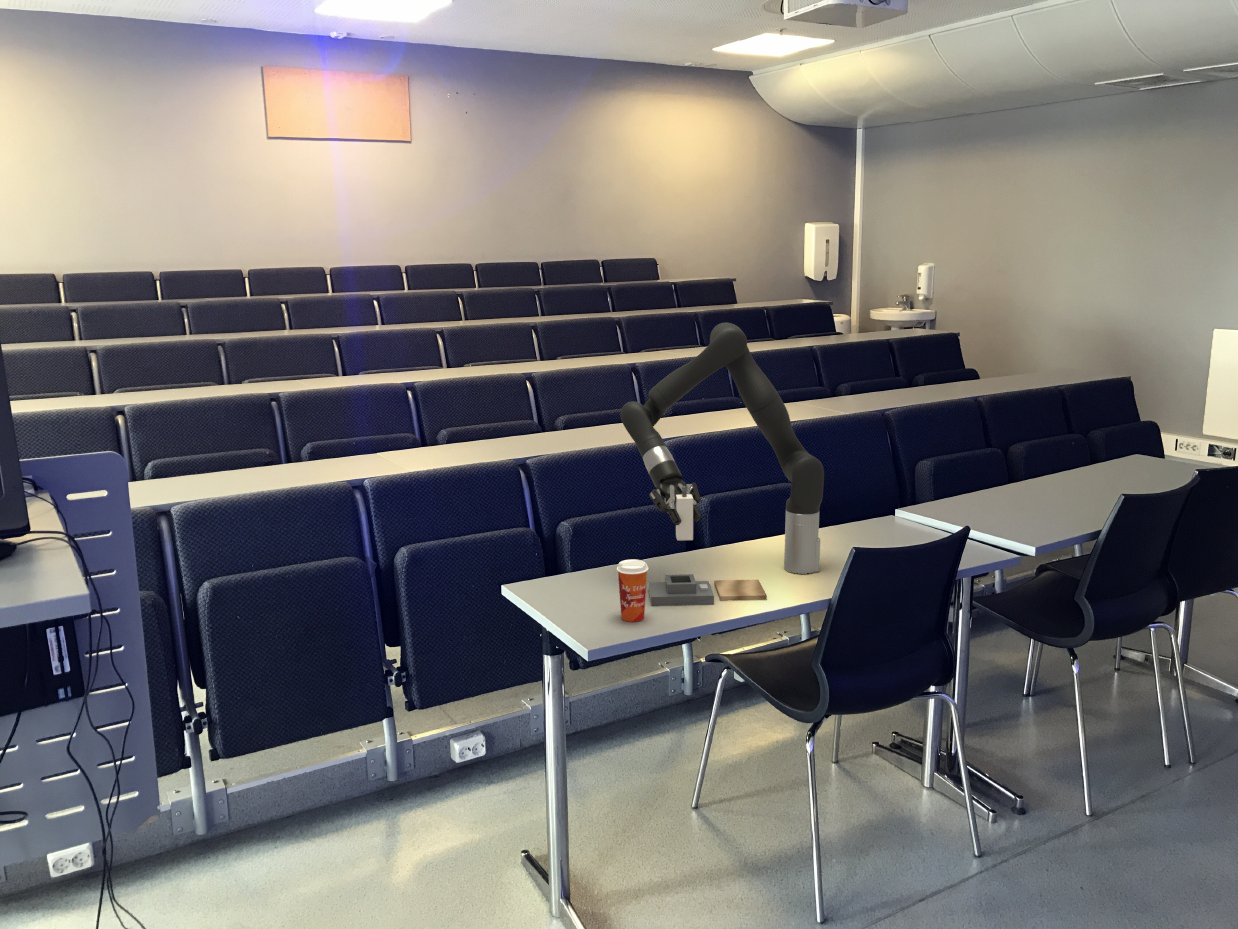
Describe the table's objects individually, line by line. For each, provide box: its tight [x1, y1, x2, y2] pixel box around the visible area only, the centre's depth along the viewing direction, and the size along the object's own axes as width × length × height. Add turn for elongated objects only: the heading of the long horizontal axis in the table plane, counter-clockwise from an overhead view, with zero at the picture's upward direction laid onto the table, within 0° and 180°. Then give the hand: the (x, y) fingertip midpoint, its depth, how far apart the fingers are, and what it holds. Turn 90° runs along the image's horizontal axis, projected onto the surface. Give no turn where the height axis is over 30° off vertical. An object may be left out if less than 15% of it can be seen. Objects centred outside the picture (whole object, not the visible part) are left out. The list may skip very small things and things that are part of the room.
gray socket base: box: [648, 573, 715, 607], centre depth 242 cm, size 16×11×5 cm
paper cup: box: [616, 558, 650, 623], centre depth 228 cm, size 8×8×14 cm
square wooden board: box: [713, 578, 768, 602], centre depth 246 cm, size 12×12×1 cm
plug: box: [675, 486, 694, 541], centre depth 238 cm, size 4×4×14 cm
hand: (688, 521), depth 237 cm, fingers closed on plug, 5 cm apart
